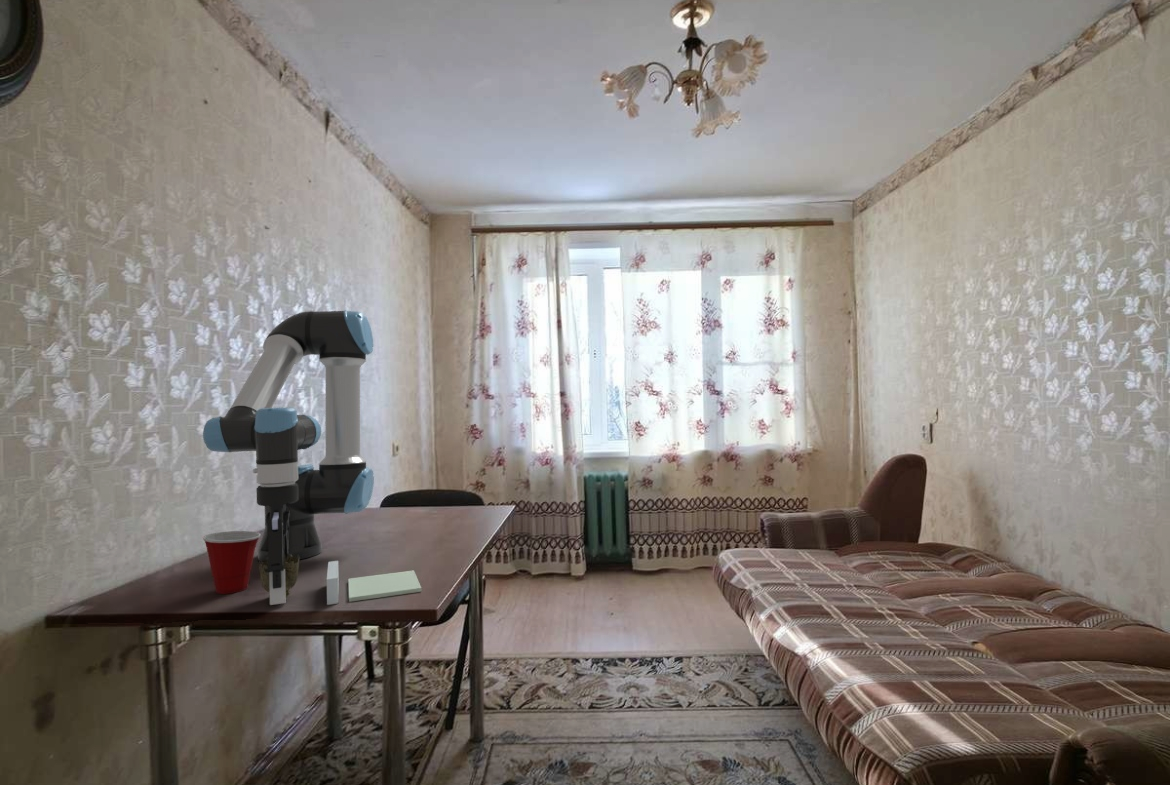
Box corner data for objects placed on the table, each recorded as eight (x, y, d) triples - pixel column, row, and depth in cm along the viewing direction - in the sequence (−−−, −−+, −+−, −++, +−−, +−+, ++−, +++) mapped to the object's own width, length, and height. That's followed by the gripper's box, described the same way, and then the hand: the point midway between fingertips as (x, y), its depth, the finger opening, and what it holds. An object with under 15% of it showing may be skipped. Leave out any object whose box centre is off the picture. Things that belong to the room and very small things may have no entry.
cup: (282, 605, 114) (282, 564, 114) (249, 604, 115) (249, 563, 115) (308, 593, 121) (307, 554, 121) (277, 591, 123) (276, 553, 123)
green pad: (348, 582, 129) (348, 578, 129) (414, 573, 135) (413, 570, 135) (349, 601, 116) (348, 597, 116) (421, 591, 122) (421, 587, 122)
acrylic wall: (328, 584, 128) (328, 561, 128) (338, 583, 129) (338, 560, 129) (327, 604, 115) (326, 579, 115) (338, 603, 116) (337, 577, 116)
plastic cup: (262, 591, 124) (261, 535, 124) (201, 601, 119) (200, 542, 119) (261, 578, 133) (261, 526, 134) (205, 587, 128) (204, 532, 128)
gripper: (262, 479, 126) (264, 585, 126) (249, 492, 108) (251, 617, 108) (301, 476, 129) (303, 580, 129) (294, 489, 111) (296, 610, 110)
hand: (279, 597), depth 118 cm, fingers closed on cup, 7 cm apart
